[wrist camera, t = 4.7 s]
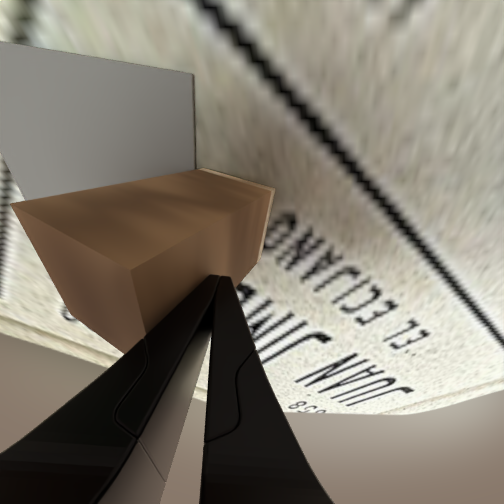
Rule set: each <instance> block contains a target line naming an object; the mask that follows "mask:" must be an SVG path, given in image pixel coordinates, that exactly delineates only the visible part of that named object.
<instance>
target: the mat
mask: <svg viewBox="0 0 504 504" xmlns="http://www.w3.org/2000/svg"><path fill="white" fill-rule="evenodd" d="M0 153H1V155H2V156H3V158H4V160H5V162H6V164H7V166H8V168H9V170H10V172H11V174H12V176H13V178H14V180H15V181H16V183H17V185H18V187H19V189H20V191H21V193H22V195H23V197H24V199H25V201H27V200H33V199H38V198H43V197H49V196H54V195H60V194H65V193H71V192H76V191H82V190H87V189H93V188H98V187H104V186H109V185H115V184H120V183H125V182H131V181H136V180H142V179H147V178H153V177H158V176H164V175H169V174H175V173H180V172H186V171H191V170H196V169H195V129H194V89H193V74H191V73H185V72H180V71H174V70H168V69H162V68H156V67H150V66H144V65H138V64H132V63H126V62H120V61H114V60H108V59H102V58H96V57H90V56H85V55H79V54H73V53H67V52H61V51H55V50H49V49H43V48H37V47H31V46H25V45H19V44H13V43H7V42H1V41H0Z"/></svg>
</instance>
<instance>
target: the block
mask: <svg viewBox="0 0 504 504" xmlns="http://www.w3.org/2000/svg"><path fill="white" fill-rule="evenodd" d="M274 194H275V188H271V187H268V186H264V185H261V184H257V183H254V182H251V181H247V180H244V179H240V178H237V177H233V176H230V175H226V174H223V173H220V172H216V171H213V170H209V169H206V168H202V169H197V170H191V171H186V172H180V173H175V174H169V175H164V176H158V177H153V178H147V179H142V180H136V181H131V182H125V183H120V184H115V185H109V186H104V187H98V188H93V189H87V190H82V191H76V192H71V193H65V194H60V195H54V196H49V197H43V198H38V199H33V200H27V201H22V202H16V203H11V204H10V205H11V207H12V208H13V210H14V212H15V214H16V216H17V217H18V219H19V221H20V223H21V225H22V227H23V228H24V230H25V232H26V234H27V236H28V237H29V239H30V241H31V243H32V245H33V247H34V248H35V250H36V252H37V254H38V256H39V257H40V259H41V261H42V263H43V265H44V267H45V268H46V270H47V272H48V274H49V276H50V277H51V279H52V281H53V283H54V285H55V287H56V288H57V290H58V292H59V294H60V296H61V298H62V299H63V301H64V303H65V305H66V307H67V308H68V310H69V312H70V314H71V315H72V316H74V317H75V318H76V319H78V320H79V321H80V322H82V323H83V324H84V325H86V326H87V327H88V328H90V329H91V330H93V331H94V332H95V333H97V334H98V335H99V336H101V337H102V338H103V339H105V340H106V341H107V342H109V343H110V344H111V345H113V346H114V347H115V348H117V349H118V350H119V351H121V352H122V353H124V354H126V353H127V352H128V351H129V350H130V349H131V348H132V347H133V346H134V345H135V344H136V343H137V342H138V341H140V340H141V339H144V336H145V335H146V334H147V333H148V332H149V331H150V330H151V329H152V328H153V327H154V326H156V325H157V324H158V323H159V322H160V321H161V320H162V319H163V318H164V317H165V316H166V315H167V314H168V313H169V312H170V311H171V310H172V309H174V308H175V307H176V306H177V305H178V304H179V303H180V302H181V301H182V300H183V299H184V298H185V297H186V296H187V295H188V294H189V293H190V292H191V291H193V290H194V289H195V288H196V287H197V286H198V285H199V284H200V283H201V282H202V281H203V280H204V279H205V278H206V277H207V276H208V275H210V274H215V275H220V276H222V275H223V276H230V277H231V278H232V281H233V284H234V287H235V288H236V287H237V285H238V284H239V283H240V282H241V281H242V280H243V278H244V277H245V276H246V275H247V274H248V273H249V272H250V270H251V269H252V268H253V267H254V266H255V265H256V264H257V262H258V261H259V260H260V259H261V254H262V249H263V245H264V240H265V236H266V231H267V226H268V222H269V217H270V212H271V208H272V203H273V198H274Z"/></svg>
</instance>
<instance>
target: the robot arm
mask: <svg viewBox="0 0 504 504" xmlns="http://www.w3.org/2000/svg"><path fill="white" fill-rule="evenodd" d="M210 338H211V347H210V361H209V375H208V390H207V405H206V418H205V433H204V447H203V461H202V474H201V487H200V499H199V504H335V503H334V502H333V501H332V499H331V498H330V496H329V495H328V494H327V492H326V491H325V489H324V488H323V486H322V485H321V483H320V482H319V480H318V478H317V477H316V475H315V473H314V472H313V470H312V468H311V466H310V464H309V463H308V461H307V459H306V457H305V455H304V453H303V451H302V449H301V447H300V445H299V443H298V441H297V439H296V437H295V435H294V433H293V431H292V429H291V427H290V425H289V423H288V421H287V419H286V416H285V415H284V412H283V410H282V408H281V406H280V404H279V402H278V400H277V398H276V396H275V394H274V392H273V389H272V387H271V385H270V383H269V381H268V378H267V376H266V373H265V371H264V368H263V366H262V363H261V360H260V357H259V355H258V352H257V350H256V346H255V344H254V341H253V338H252V335H251V332H250V329H249V327H248V324H247V321H246V318H245V315H244V312H243V309H242V307H241V304H240V301H239V298H238V295H237V292H236V290H235V287H234V284H233V281H232V278H231V277H230V276H223V275H222V276H220V275H215V274H210V275H208V276H207V277H206V278H205V279H204V280H203V281H202V282H201V283H200V284H199V285H198V286H197V287H196V288H195V289H194V290H193V291H191V292H190V293H189V294H188V295H187V296H186V297H185V298H184V299H183V300H182V301H181V302H180V303H179V304H178V305H177V306H176V307H175V308H174V309H172V310H171V311H170V312H169V313H168V314H167V315H166V316H165V317H164V318H163V319H162V320H161V321H160V322H159V323H158V324H157V325H156V326H154V327H153V328H152V329H151V330H150V331H149V332H148V333H147V334H146V335H145V336H144V339H141V340H140V341H138V342H137V343H136V344H135V345H134V346H133V347H132V348H131V349H130V350H129V351H128V352H127V353H126V354H124V355H123V356H122V357H121V358H120V359H119V360H118V361H117V362H116V363H115V364H113V365H112V366H111V367H110V368H109V369H107V370H106V371H105V372H104V373H102V374H101V375H100V376H99V377H98V378H96V379H95V380H94V381H93V382H92V383H90V384H89V385H88V386H87V387H85V388H84V389H83V390H82V391H80V392H79V393H78V394H77V395H75V396H74V397H73V398H72V399H70V400H69V401H68V402H67V403H65V405H63V406H62V407H60V408H59V409H58V410H57V411H56V412H54V413H53V414H52V415H51V416H49V417H48V418H47V419H46V420H44V421H43V422H42V423H41V424H39V425H38V426H37V427H36V428H34V429H33V430H32V431H31V432H29V433H28V434H27V435H25V436H24V437H23V438H22V439H20V440H19V441H17V442H16V443H14V444H13V445H12V446H10V447H9V448H7V449H6V450H4V451H3V452H1V453H0V504H160V501H161V497H162V494H163V491H164V487H165V482H166V481H167V478H168V474H169V471H170V468H171V465H172V461H173V458H174V455H175V452H176V448H177V445H178V442H179V439H180V435H181V432H182V429H183V426H184V422H185V418H186V416H187V412H188V409H189V406H190V403H191V400H192V396H193V393H194V390H195V387H196V383H197V380H198V377H199V374H200V370H201V367H202V364H203V361H204V357H205V354H206V351H207V348H208V344H209V341H210Z"/></svg>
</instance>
